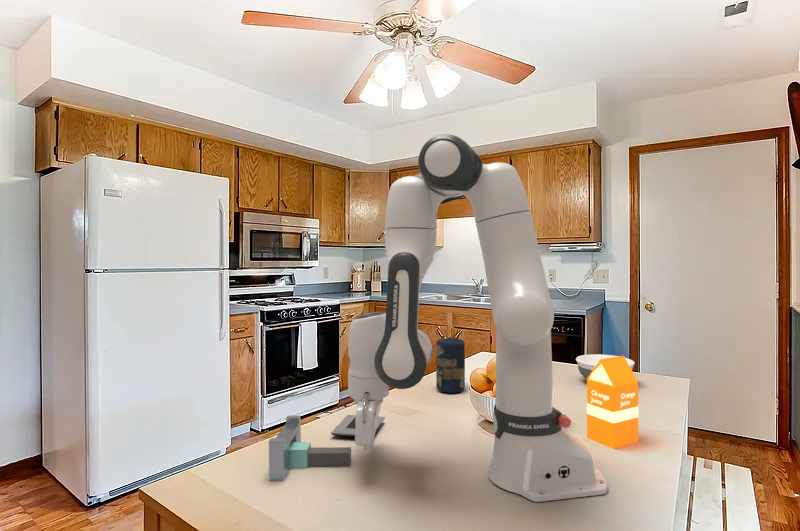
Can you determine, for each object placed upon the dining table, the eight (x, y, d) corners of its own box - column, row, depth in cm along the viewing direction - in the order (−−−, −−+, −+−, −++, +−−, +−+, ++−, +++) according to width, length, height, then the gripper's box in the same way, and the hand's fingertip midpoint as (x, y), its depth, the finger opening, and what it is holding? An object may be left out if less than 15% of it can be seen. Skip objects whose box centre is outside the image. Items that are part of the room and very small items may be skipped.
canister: (432, 388, 158) (431, 335, 157) (457, 385, 161) (457, 333, 160) (443, 396, 149) (442, 340, 148) (470, 393, 152) (469, 338, 151)
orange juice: (639, 442, 111) (638, 358, 110) (613, 449, 107) (613, 362, 106) (610, 431, 118) (610, 352, 117) (586, 437, 114) (585, 356, 113)
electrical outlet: (372, 443, 113) (372, 434, 113) (331, 440, 115) (330, 431, 115) (384, 424, 125) (384, 415, 125) (347, 422, 128) (347, 413, 128)
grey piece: (300, 449, 109) (300, 415, 109) (284, 480, 94) (283, 441, 94) (288, 449, 109) (287, 415, 109) (269, 480, 94) (268, 441, 94)
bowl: (587, 391, 152) (587, 366, 152) (568, 376, 171) (568, 354, 170) (645, 391, 151) (645, 366, 151) (620, 376, 170) (620, 353, 170)
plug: (351, 459, 103) (351, 441, 103) (349, 468, 99) (348, 449, 99) (287, 460, 103) (287, 442, 103) (282, 468, 99) (282, 449, 99)
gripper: (380, 401, 90) (379, 472, 91) (385, 374, 111) (384, 431, 111) (347, 401, 91) (347, 471, 91) (359, 374, 111) (358, 431, 111)
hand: (368, 449), depth 101 cm, fingers closed
